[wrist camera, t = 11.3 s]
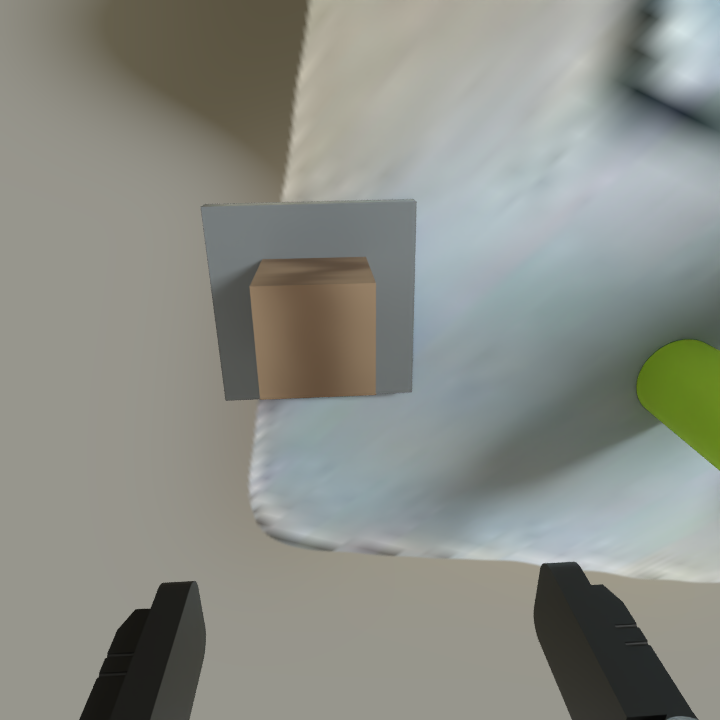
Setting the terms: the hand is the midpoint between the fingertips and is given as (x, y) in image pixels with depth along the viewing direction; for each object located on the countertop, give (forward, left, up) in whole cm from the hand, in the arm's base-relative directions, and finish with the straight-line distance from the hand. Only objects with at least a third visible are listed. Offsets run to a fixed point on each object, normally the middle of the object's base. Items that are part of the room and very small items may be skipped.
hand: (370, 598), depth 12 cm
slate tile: (+1, 0, -23) cm, 23 cm away
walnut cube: (+1, 0, -22) cm, 22 cm away
